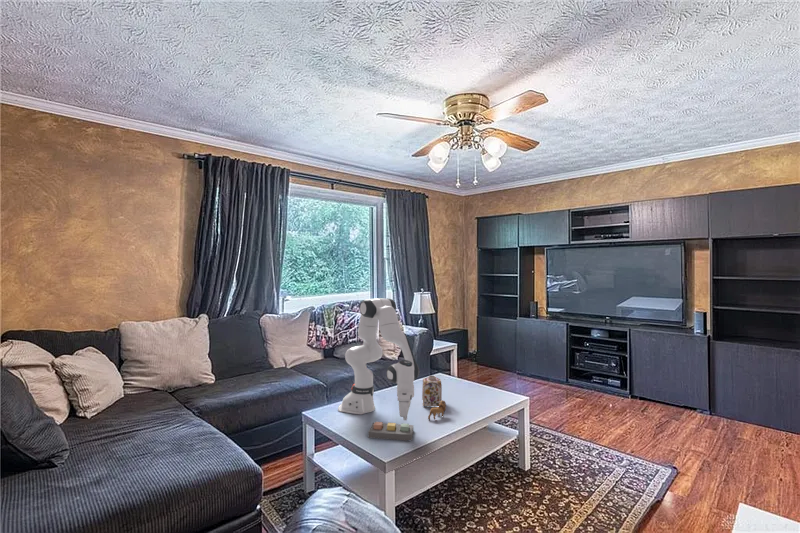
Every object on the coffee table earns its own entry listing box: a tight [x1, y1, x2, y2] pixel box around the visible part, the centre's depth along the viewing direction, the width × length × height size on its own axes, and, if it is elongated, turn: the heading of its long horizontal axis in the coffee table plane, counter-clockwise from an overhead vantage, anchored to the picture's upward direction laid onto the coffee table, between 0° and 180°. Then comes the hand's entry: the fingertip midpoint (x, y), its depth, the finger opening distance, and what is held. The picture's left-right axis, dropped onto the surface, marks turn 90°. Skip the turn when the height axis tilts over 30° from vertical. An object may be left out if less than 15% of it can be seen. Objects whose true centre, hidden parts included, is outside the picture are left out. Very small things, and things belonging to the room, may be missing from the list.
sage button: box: [400, 422, 410, 432], centre depth 203 cm, size 4×4×4 cm
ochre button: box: [387, 422, 397, 431], centre depth 204 cm, size 4×4×4 cm
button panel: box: [367, 422, 414, 441], centre depth 204 cm, size 22×12×3 cm, turn 83°
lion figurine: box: [427, 400, 447, 422], centre depth 226 cm, size 15×5×9 cm, turn 138°
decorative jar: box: [421, 375, 443, 407], centre depth 249 cm, size 12×12×18 cm
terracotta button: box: [373, 421, 384, 430], centre depth 205 cm, size 4×4×4 cm
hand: (405, 419), depth 203 cm, fingers closed
